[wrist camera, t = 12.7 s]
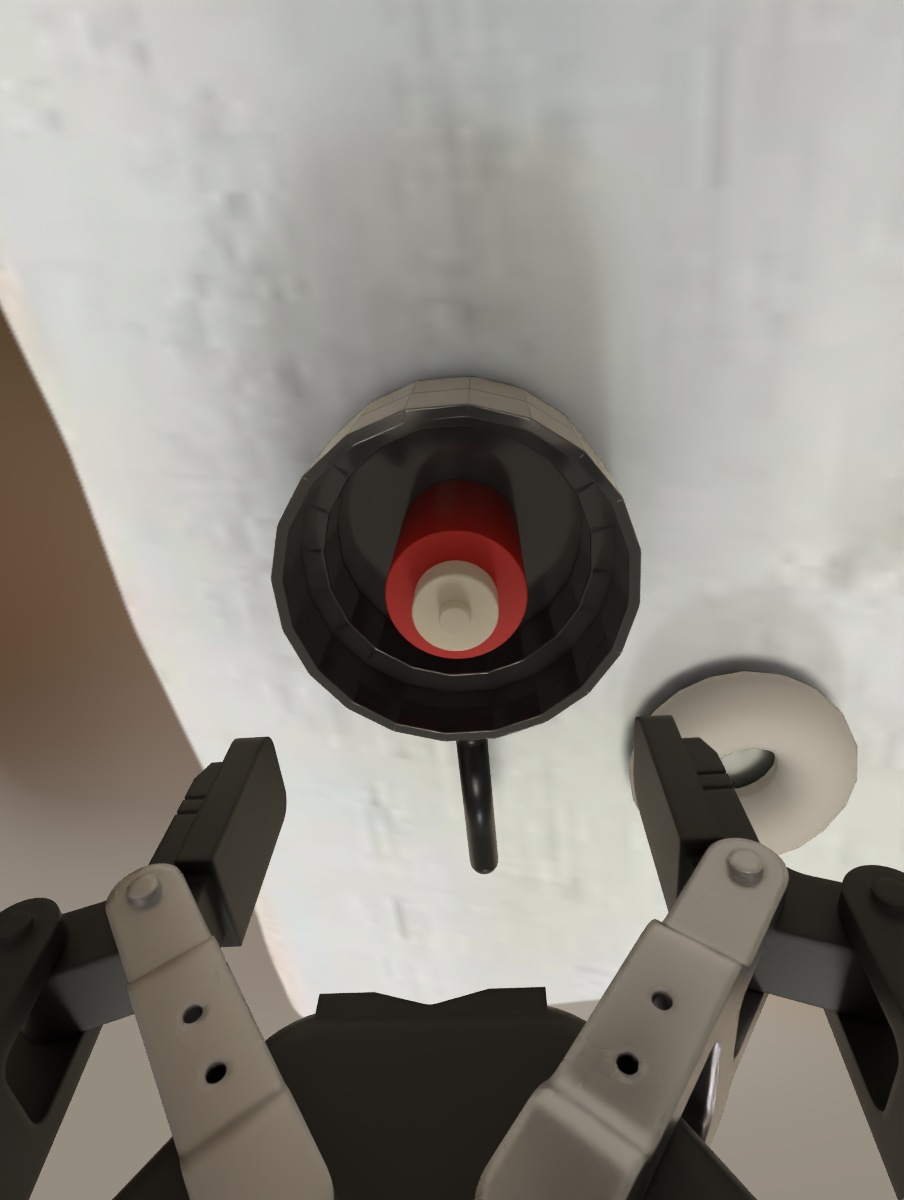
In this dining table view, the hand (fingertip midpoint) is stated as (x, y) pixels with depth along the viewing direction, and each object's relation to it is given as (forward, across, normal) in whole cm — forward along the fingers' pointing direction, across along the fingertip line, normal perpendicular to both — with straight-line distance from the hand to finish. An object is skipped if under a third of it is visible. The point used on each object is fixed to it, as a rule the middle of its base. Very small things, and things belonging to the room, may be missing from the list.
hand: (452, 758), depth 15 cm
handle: (+10, 0, +10) cm, 14 cm away
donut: (+15, -12, +12) cm, 23 cm away
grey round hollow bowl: (+15, 0, 0) cm, 15 cm away
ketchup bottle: (+15, 0, 0) cm, 15 cm away
